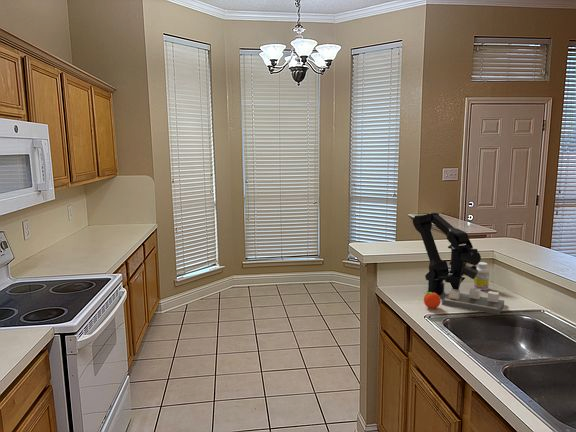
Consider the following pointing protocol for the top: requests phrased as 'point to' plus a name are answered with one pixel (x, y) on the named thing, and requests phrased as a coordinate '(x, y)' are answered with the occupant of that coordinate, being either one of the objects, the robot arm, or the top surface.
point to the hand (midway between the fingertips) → (456, 293)
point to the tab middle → (474, 293)
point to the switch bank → (474, 303)
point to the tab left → (454, 294)
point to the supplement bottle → (482, 277)
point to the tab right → (493, 296)
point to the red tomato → (431, 300)
